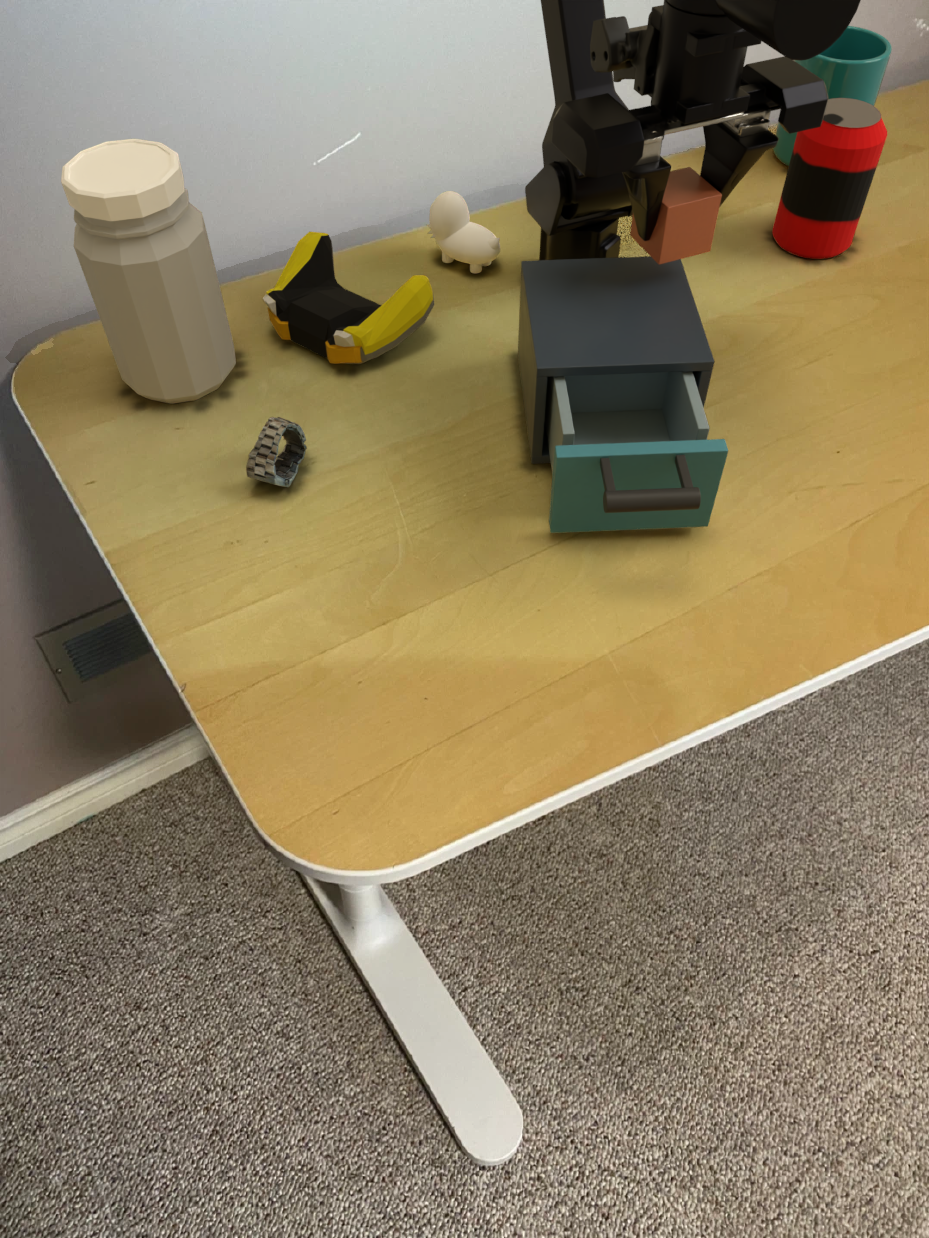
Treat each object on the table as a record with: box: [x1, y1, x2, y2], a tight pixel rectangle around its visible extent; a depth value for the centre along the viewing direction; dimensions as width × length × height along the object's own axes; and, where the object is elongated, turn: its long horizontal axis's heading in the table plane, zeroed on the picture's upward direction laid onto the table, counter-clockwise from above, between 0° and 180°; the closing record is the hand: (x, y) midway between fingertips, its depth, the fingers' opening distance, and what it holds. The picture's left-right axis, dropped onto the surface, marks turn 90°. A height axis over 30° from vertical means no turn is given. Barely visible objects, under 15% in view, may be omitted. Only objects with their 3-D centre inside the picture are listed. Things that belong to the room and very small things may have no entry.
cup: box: [772, 25, 893, 167], centre depth 100 cm, size 9×12×11 cm
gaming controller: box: [262, 231, 435, 365], centre depth 84 cm, size 15×6×10 cm
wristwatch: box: [245, 416, 308, 488], centre depth 73 cm, size 3×5×5 cm
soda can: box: [771, 98, 888, 260], centre depth 89 cm, size 8×8×12 cm
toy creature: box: [426, 190, 502, 274], centre depth 90 cm, size 5×8×6 cm, turn 56°
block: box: [629, 166, 722, 265], centre depth 72 cm, size 4×4×4 cm
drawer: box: [544, 371, 729, 534], centre depth 68 cm, size 17×11×8 cm
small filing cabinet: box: [517, 255, 716, 465], centre depth 75 cm, size 14×13×9 cm
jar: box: [60, 138, 237, 405], centre depth 75 cm, size 10×10×18 cm
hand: (672, 231), depth 73 cm, fingers closed on block, 4 cm apart
